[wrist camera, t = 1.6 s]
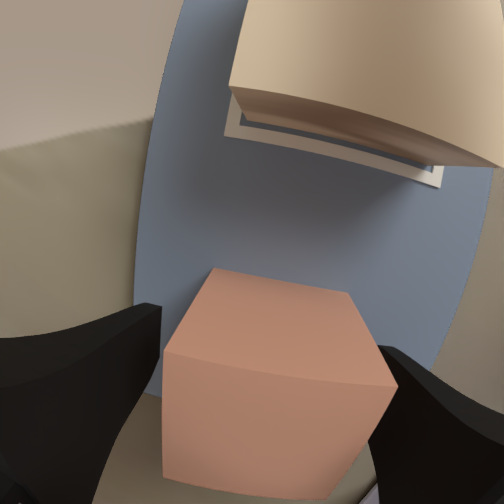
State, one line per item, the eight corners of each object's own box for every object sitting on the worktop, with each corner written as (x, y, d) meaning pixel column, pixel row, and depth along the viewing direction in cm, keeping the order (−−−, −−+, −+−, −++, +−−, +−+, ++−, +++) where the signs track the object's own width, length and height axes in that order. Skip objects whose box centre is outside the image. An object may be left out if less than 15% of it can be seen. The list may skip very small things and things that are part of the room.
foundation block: (438, 18, 7) (493, -26, 3) (427, 165, 9) (504, 168, 5) (278, -28, 7) (278, -102, 3) (247, 120, 9) (228, 85, 5)
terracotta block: (347, 293, 10) (398, 386, 5) (312, 395, 11) (325, 500, 6) (213, 267, 10) (164, 351, 5) (198, 375, 11) (163, 477, 6)
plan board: (484, 39, 8) (497, 32, 7) (391, 415, 12) (397, 429, 11) (207, -36, 8) (201, -51, 7) (142, 376, 13) (133, 391, 12)
